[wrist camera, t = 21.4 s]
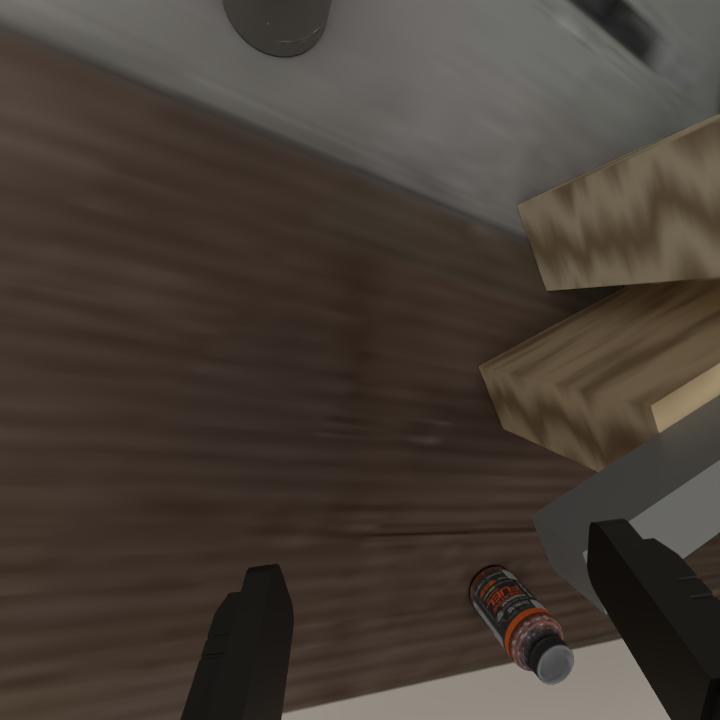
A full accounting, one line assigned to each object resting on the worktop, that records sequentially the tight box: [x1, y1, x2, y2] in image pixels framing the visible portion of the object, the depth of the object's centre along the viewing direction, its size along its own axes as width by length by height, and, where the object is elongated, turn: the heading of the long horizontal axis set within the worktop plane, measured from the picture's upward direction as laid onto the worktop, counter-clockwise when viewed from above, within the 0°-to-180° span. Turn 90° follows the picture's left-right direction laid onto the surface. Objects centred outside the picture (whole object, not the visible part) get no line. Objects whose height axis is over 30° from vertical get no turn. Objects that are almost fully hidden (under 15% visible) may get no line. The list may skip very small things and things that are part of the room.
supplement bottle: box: [470, 566, 574, 685], centre depth 44 cm, size 6×6×11 cm
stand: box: [478, 114, 720, 472], centre depth 32 cm, size 22×27×32 cm
